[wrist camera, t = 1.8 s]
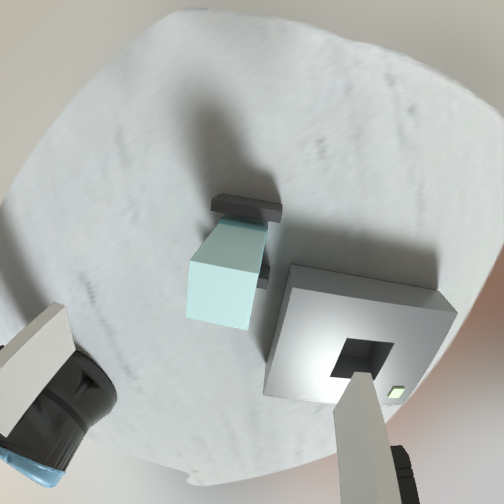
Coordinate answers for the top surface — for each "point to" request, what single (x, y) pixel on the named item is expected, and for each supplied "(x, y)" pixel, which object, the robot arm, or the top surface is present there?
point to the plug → (227, 272)
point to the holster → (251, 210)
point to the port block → (353, 336)
